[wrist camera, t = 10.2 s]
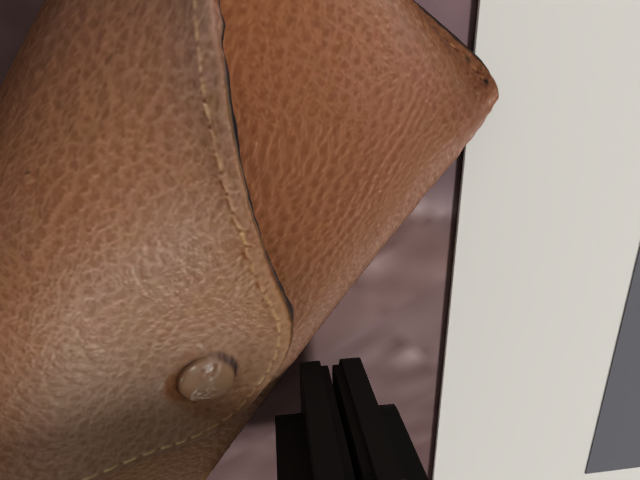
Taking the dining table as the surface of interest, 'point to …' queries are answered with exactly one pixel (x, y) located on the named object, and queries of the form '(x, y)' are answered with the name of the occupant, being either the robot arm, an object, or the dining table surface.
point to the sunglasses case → (200, 210)
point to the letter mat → (548, 252)
